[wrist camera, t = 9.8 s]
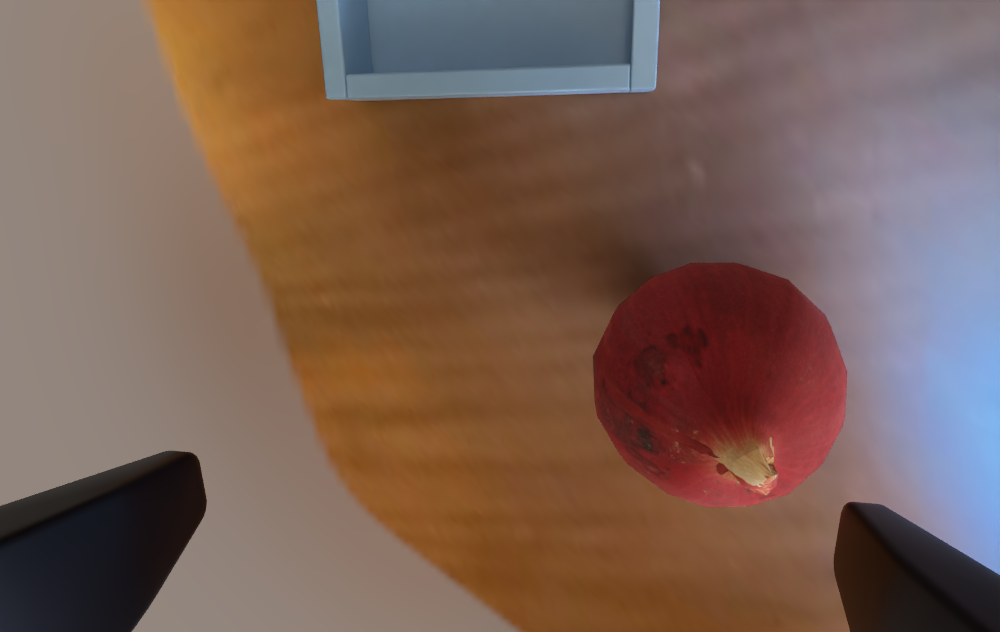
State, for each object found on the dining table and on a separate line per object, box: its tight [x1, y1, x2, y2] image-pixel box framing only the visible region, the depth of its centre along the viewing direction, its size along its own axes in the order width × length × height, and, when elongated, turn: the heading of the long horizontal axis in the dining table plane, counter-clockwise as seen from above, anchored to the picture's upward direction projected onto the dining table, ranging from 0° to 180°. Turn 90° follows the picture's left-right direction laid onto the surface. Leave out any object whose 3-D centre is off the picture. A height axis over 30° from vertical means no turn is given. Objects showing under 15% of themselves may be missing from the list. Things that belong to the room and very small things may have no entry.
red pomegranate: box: [593, 263, 847, 507], centre depth 15 cm, size 6×6×8 cm
